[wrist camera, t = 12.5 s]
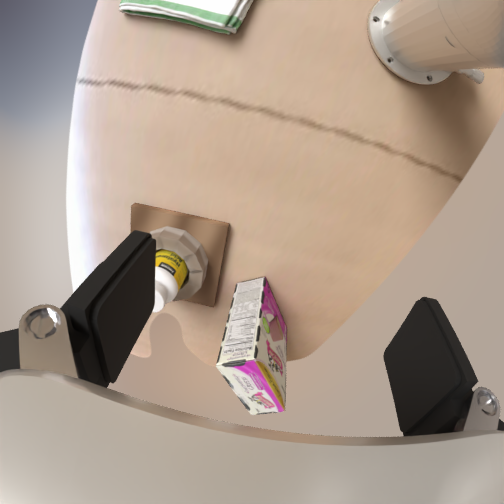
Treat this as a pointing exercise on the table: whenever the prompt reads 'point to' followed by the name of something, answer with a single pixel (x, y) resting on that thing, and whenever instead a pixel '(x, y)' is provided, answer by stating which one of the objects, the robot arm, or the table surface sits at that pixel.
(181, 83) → the table surface
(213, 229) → the hub block
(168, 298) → the supplement bottle
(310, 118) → the table surface
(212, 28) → the dish towel
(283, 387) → the candy bar box
